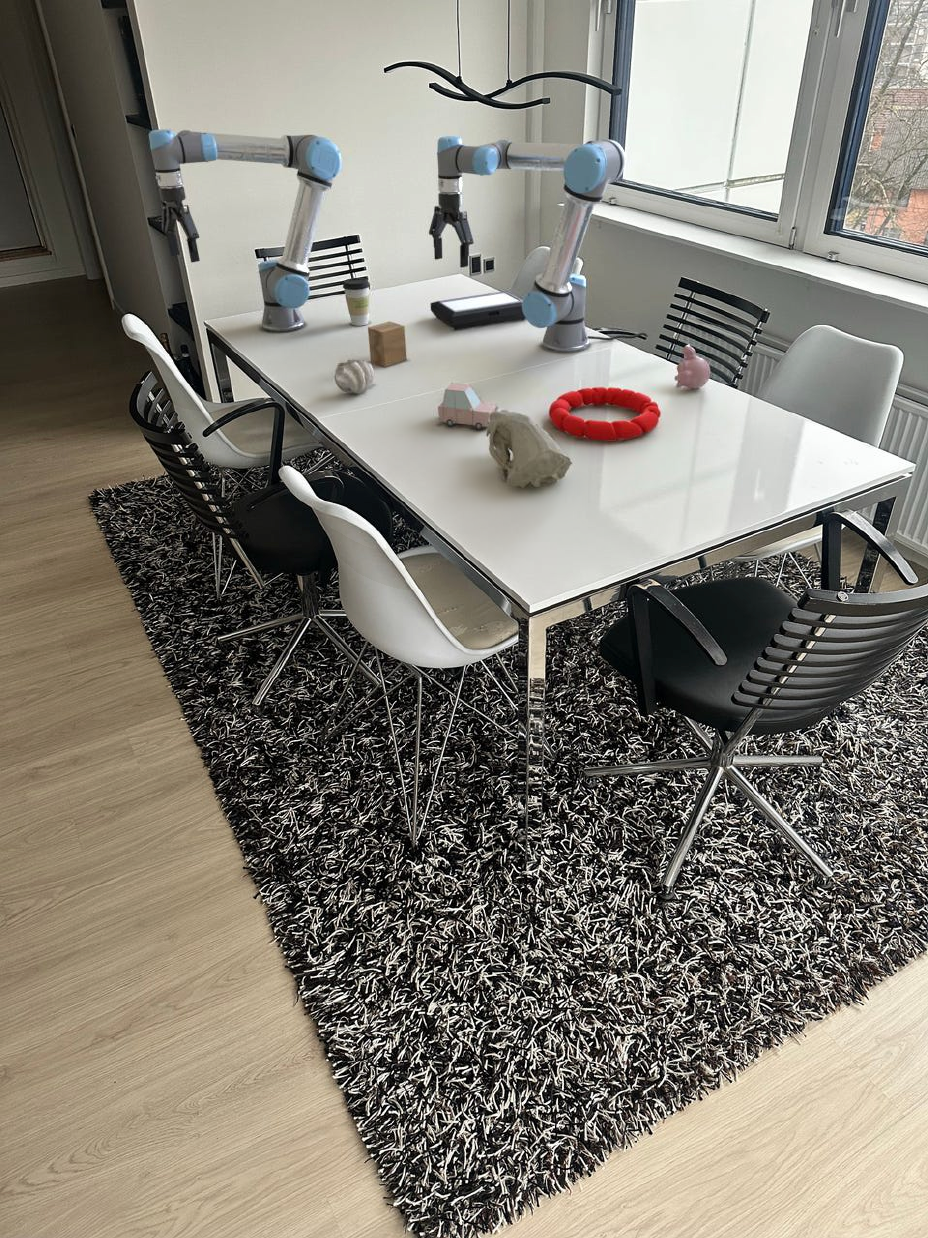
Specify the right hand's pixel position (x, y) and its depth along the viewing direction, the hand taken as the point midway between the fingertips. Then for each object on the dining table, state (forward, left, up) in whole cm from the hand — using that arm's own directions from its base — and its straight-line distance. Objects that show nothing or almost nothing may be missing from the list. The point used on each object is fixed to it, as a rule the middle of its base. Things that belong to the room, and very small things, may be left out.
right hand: (451, 262), depth 293 cm
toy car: (+9, +74, -26) cm, 79 cm away
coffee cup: (+30, -29, -26) cm, 49 cm away
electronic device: (-14, -22, -26) cm, 37 cm away
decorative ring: (-28, +83, -26) cm, 91 cm away
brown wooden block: (+24, +16, -26) cm, 39 cm away
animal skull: (+2, +107, -26) cm, 110 cm away
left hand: (+85, -12, +5) cm, 86 cm away
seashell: (+37, +43, -26) cm, 62 cm away
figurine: (-60, +65, -26) cm, 92 cm away
